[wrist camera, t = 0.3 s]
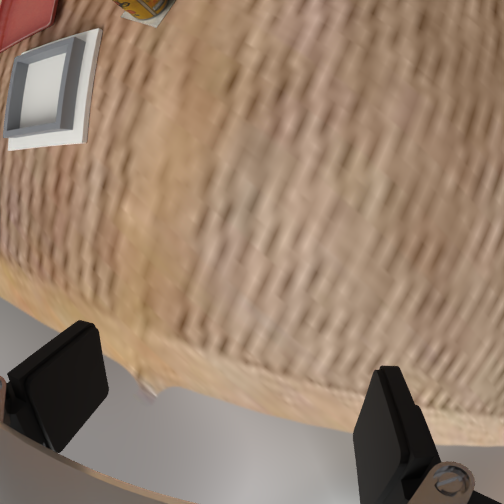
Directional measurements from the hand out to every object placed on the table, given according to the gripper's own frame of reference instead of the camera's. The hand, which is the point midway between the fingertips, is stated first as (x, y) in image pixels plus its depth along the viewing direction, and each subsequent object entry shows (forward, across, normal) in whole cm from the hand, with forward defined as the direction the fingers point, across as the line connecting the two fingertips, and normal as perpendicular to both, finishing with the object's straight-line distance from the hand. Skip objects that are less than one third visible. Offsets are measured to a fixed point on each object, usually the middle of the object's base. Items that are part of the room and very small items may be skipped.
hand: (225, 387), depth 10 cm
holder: (+31, +37, -19) cm, 52 cm away
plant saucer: (+31, +48, -39) cm, 69 cm away
